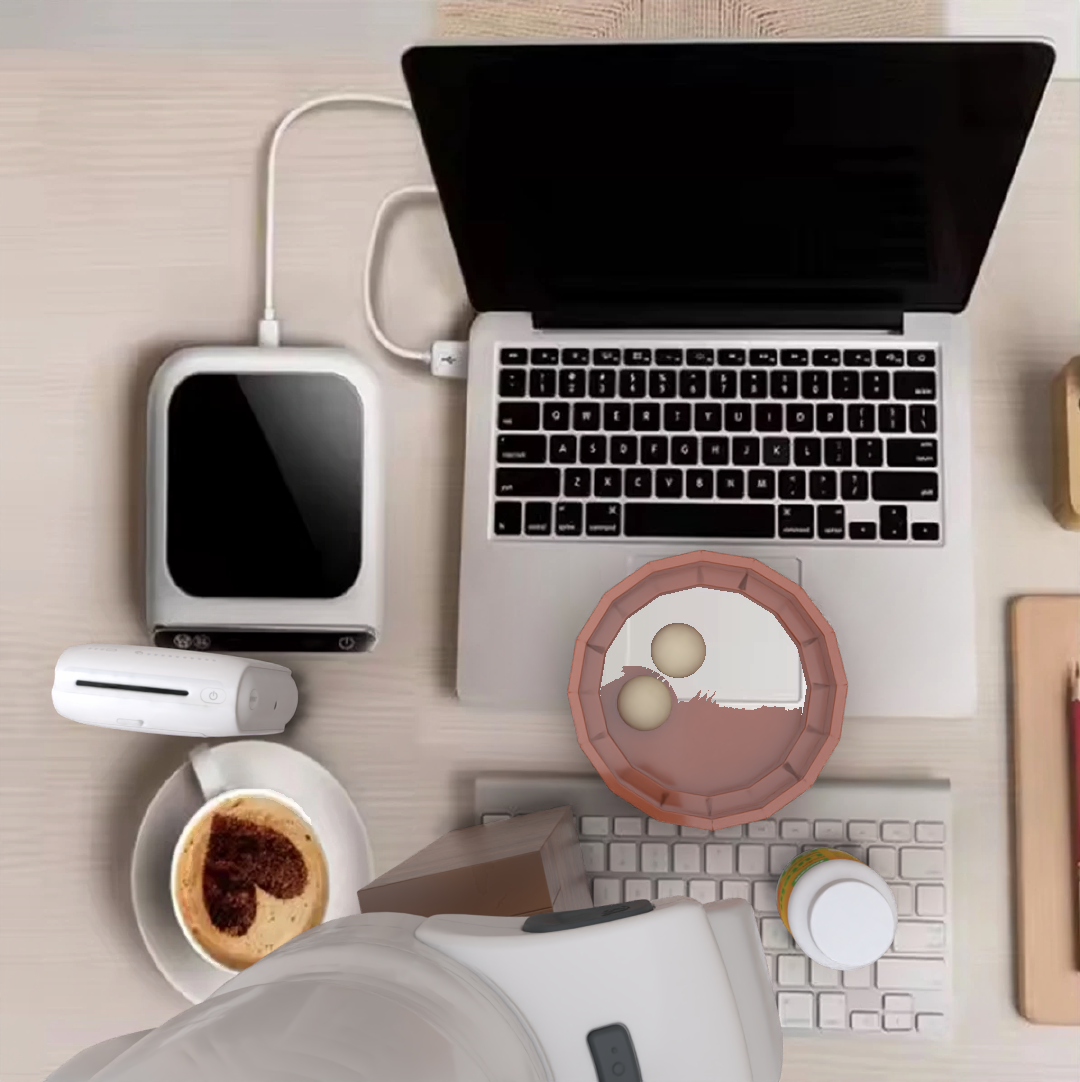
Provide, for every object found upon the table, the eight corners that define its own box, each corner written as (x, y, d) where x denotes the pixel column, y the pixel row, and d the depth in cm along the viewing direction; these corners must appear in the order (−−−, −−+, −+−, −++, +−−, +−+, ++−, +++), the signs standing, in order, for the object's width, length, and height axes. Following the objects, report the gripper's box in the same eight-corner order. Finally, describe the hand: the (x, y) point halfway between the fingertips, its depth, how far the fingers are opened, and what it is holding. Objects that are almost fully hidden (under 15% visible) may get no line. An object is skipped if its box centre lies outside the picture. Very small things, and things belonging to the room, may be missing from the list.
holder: (599, 931, 76) (582, 1042, 51) (474, 958, 77) (395, 1083, 51) (570, 804, 77) (539, 850, 52) (448, 831, 78) (356, 891, 52)
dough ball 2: (685, 628, 74) (637, 652, 75) (714, 673, 74) (666, 696, 75) (689, 604, 76) (643, 628, 77) (717, 648, 77) (671, 671, 78)
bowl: (859, 788, 76) (876, 794, 71) (606, 845, 77) (603, 855, 71) (795, 537, 78) (807, 524, 73) (549, 595, 79) (542, 586, 73)
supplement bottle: (806, 827, 76) (831, 844, 67) (893, 879, 76) (931, 904, 66) (756, 913, 76) (774, 942, 66) (843, 967, 75) (874, 1004, 66)
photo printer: (305, 663, 79) (245, 653, 67) (296, 739, 79) (234, 744, 67) (129, 646, 80) (38, 633, 68) (119, 721, 80) (26, 722, 67)
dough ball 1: (678, 709, 77) (683, 677, 75) (656, 750, 75) (660, 719, 73) (629, 687, 78) (633, 656, 76) (606, 727, 76) (609, 696, 74)
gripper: (-38, 1353, 32) (162, 1161, 46) (833, 1164, 31) (772, 1027, 45) (-83, 1074, 33) (127, 968, 47) (765, 884, 32) (726, 833, 46)
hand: (449, 995), depth 46 cm, fingers closed
